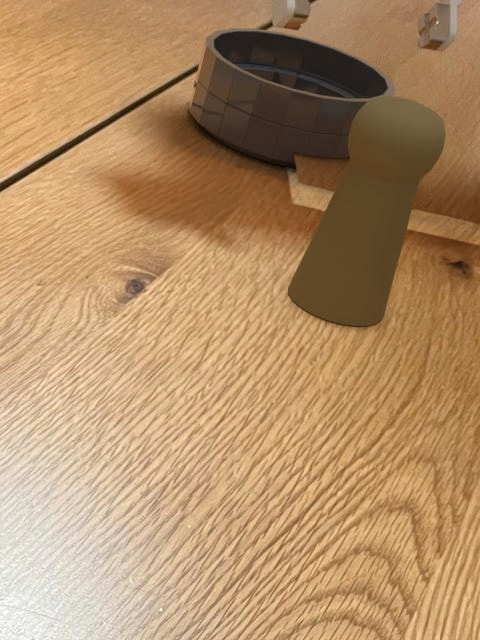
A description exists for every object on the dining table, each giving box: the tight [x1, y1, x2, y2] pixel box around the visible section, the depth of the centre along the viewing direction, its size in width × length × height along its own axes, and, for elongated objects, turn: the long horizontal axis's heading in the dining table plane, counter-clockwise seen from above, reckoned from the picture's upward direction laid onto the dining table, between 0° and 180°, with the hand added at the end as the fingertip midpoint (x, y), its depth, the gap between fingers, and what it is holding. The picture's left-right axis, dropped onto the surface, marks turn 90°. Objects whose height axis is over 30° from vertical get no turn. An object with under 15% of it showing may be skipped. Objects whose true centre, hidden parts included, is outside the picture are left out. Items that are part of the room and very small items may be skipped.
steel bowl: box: [189, 27, 397, 169], centre depth 94 cm, size 14×14×5 cm
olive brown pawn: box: [287, 96, 447, 327], centre depth 73 cm, size 6×6×11 cm
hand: (365, 34), depth 73 cm, fingers open, 8 cm apart
